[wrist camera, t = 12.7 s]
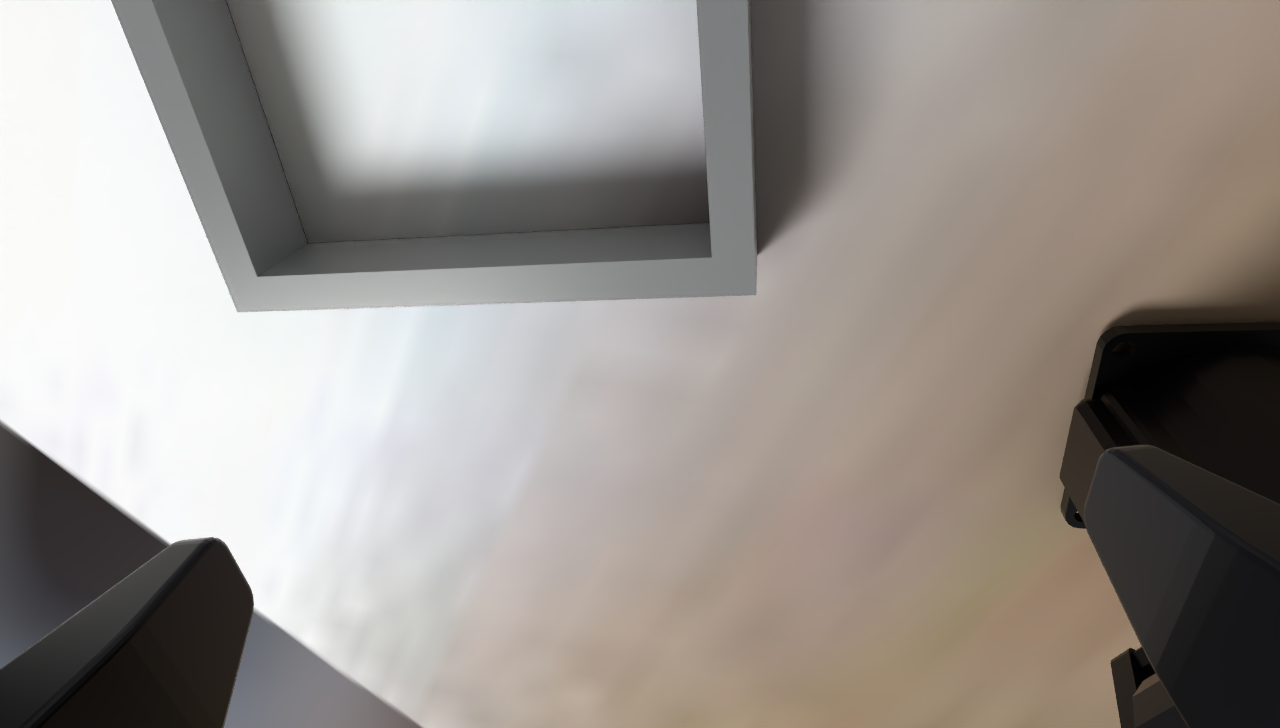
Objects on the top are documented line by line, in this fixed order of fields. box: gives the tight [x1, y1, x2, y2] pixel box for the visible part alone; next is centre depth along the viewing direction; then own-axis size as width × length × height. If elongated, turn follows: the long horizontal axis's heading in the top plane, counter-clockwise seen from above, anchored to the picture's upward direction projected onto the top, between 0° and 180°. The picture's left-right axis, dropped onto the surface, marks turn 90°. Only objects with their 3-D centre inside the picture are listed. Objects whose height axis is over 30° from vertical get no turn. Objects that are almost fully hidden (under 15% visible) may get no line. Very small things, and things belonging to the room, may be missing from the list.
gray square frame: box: [111, 0, 757, 312], centre depth 17 cm, size 14×13×2 cm
